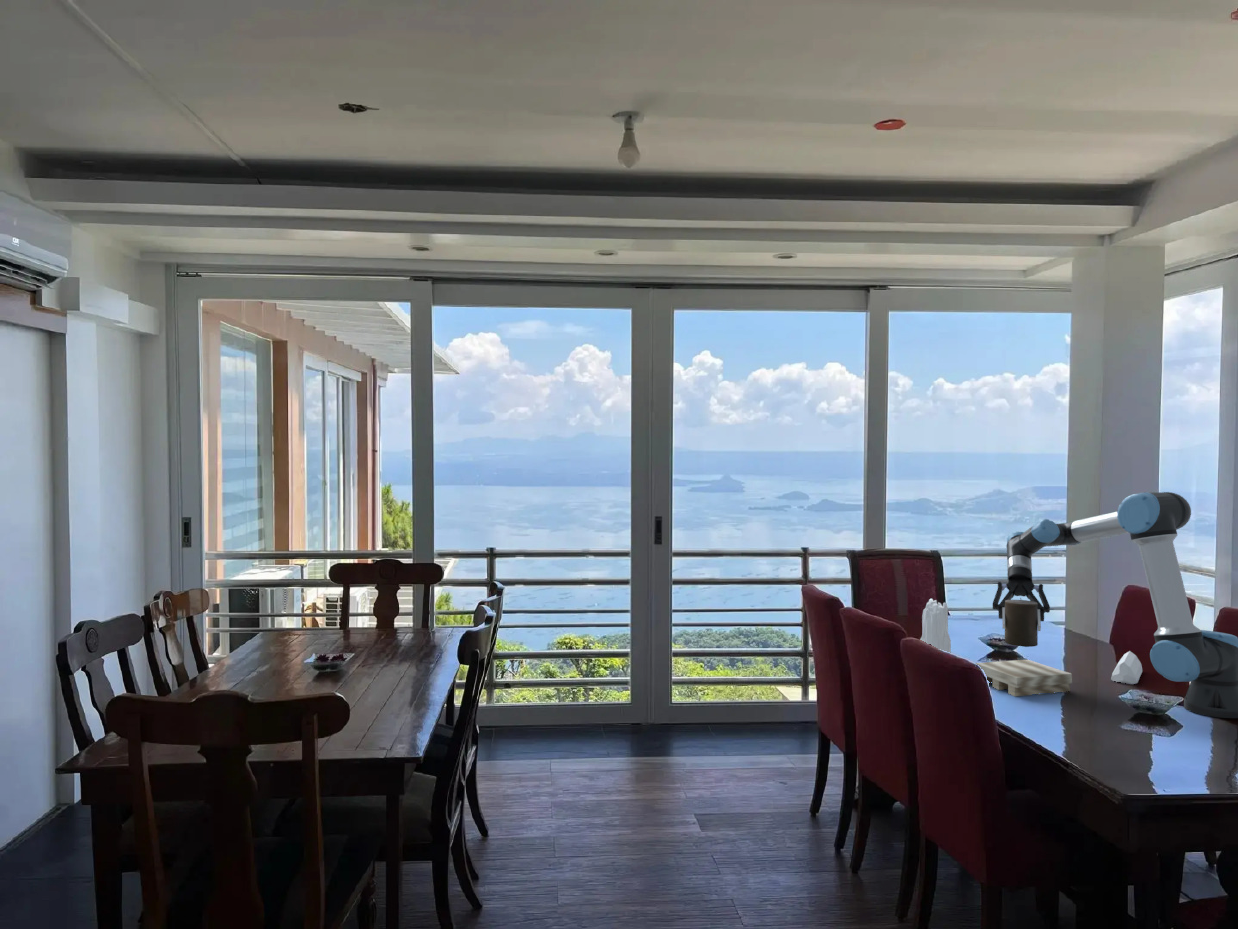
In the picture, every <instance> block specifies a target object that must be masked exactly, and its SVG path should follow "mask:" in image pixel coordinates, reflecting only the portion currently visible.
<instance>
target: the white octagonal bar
mask: <svg viewBox="0 0 1238 929" xmlns="http://www.w3.org/2000/svg"><path fill="white" fill-rule="evenodd" d="M1142 666H1143V665H1142V663H1141V661H1140V659H1139V658H1138V656H1137V655H1136V654H1135V653H1134V652H1132V651H1131V650H1129V651H1127V652H1126V653H1124V654H1123V656H1121V658H1120V659H1119V661H1118V662H1117V664H1116V666H1115V668H1114V670H1113V672H1112V673H1111V678H1110V680H1111V681H1112V682H1114V681H1116V682H1115V683H1117V682H1121V683H1120V684H1125V683H1126V685H1134V684H1135V685H1136V684H1138V683H1139V680H1140V679H1141V678H1140V677H1141V675H1142V673H1143V671H1144V670H1143V667H1142Z"/></svg>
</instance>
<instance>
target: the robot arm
mask: <svg viewBox="0 0 1238 929" xmlns="http://www.w3.org/2000/svg"><path fill="white" fill-rule="evenodd" d="M1191 515H1192V508H1191V505H1190V504H1189V502H1188V500H1187V499H1185V498H1184V497H1183V496H1182V495H1181V494H1178V493H1176V492H1170V491H1163V492H1154V491H1153V492H1152V491H1151V492H1139V493H1134V494H1130V495H1128V496H1126V497H1125V498H1124V499H1122V501H1121V503H1120V504H1119V505H1118V508H1117V511H1114V512H1113V511H1112V512H1109V513H1103V514H1100V515H1095V516H1091V517H1086V518H1081V519H1077V520H1072V521H1069V522H1063V523H1056V522H1054V521H1053V520H1050V519H1047V518H1043V519H1040V520H1039V521H1037V522H1035V523H1034V524H1033V525H1031V527H1029V528H1028V529H1027V530H1025V531H1016V532H1011V533H1010V534H1009V535H1007V538H1006V545H1005V547H1006V558H1007V559H1006V560H1007V561H1006V562H1007V564H1006V566H1007V569H1006V571H1007V574H1006V575H1007V581H1006V583H1002V582H1001V581H998V582H997V590H996V592H995V595H994V598H993V600H992V609H993V610H997V611H998V619H1000V620H1001V621H1002V629H1004V630H1005V601H1006V600H1012V599H1013V598H1014V597H1027V599H1028V601H1033V602H1037V604H1038V605H1037V607H1038V632H1041V629H1042V626H1041V622H1044V621H1045V613H1050V611H1051V606H1050V604H1049V601H1048V599H1047V596H1046V594H1045V591H1044V584H1043V583H1039V585H1037V584H1035V583H1034V582H1033V573H1032V572H1033V569H1032V568H1033V566H1032V565H1033V564H1032V556H1033V555H1034V554H1036V553H1037V552H1038V551H1041V550H1042V549H1043V548H1045V547H1059V546H1075V545H1078V544H1079V545H1080V544H1081V543H1085V542H1091V541H1096V540H1100V539H1106V538H1112V537H1116V536H1117V537H1118V536H1121V535H1127V534H1129V535H1130V540H1131V542H1132V543H1134V544H1135V545H1137V546H1138V548H1139V553H1140V556H1141V561H1142V565H1143V569H1144V573H1145V578H1146V582H1147V586H1148V590H1149V594H1150V598H1151V601H1152V602H1151V603H1152V607H1153V610H1154V614H1155V618H1156V624H1157V630H1156V631H1155V632H1154V633H1153V637H1154V641H1155V643H1154V644H1153V646H1152V648H1151V649H1150V652H1149V658H1150V662H1151V664H1152V666H1153V668H1154V670H1155V671H1156V672H1157V673H1158V674H1159V675H1160V676H1163V678H1164V679H1167V680H1169V681H1172V682H1177V683H1178V682H1182V683H1183V682H1190V684H1189V685H1188V688H1187V691H1186V695H1185V696H1184V698H1183V707H1184V709H1185V710H1187V711H1189V712H1191V711H1192V713H1194V712H1195V714H1199V715H1202V716H1207V717H1211V718H1212V717H1213V718H1222V719H1238V636H1236V635H1233V634H1230V633H1226V632H1220V631H1214V630H1205V629H1200V628H1199V627H1197V626H1196V625H1195V624H1194V621H1193V618H1192V614H1191V609H1190V604H1189V601H1188V597H1187V593H1186V589H1185V585H1184V581H1183V578H1182V574H1181V568H1180V566H1179V565H1180V564H1179V561H1178V557H1177V552H1176V549H1175V544H1174V542H1175V541H1174V540H1175V539H1176V538H1177V537H1178V531H1177V530H1180V529H1182V528H1184V527H1185V526H1186V525H1187V524H1188V523H1189V521H1190V519H1191ZM1005 588H1006V589H1007V590H1008V591H1007V593H1006V594H1005V596H1004V597H1003V599H1002V600H1001V601H1000V599H1001V597H1002V595H1003V594H1002V593H1003V592H1004V590H1005ZM1033 590H1035V591H1036V593H1038V597H1039V599H1040V601H1041V602H1040V601H1039V600H1038V598H1037V597H1036V596H1035V594H1034V592H1033Z"/></svg>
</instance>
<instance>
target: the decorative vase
mask: <svg viewBox="0 0 1238 929" xmlns="http://www.w3.org/2000/svg"><path fill="white" fill-rule="evenodd" d="M948 610H949V609H948V603H947V602H945V601H944V602H943V603H941V602H939V601H938V600H937V599H935V600H934V599H933V598H930V599H928V601H927V602H926V605H925V608H924V609H923V610H922V616H921V619H922V620H921V623H922V624H921V625H922V635H921V637H920V638H919V639H920V640H922V641H924V642H926V643H927V644H931V645H932V646H934V647H936V648H938V649H941V650H944V651H947V652H950V653H951V654H952V651H951V650H952V649H951V648H952V646H951V645H952V643H951V642H952V640H951V637H950V634H949V615H948V614H949V612H948Z"/></svg>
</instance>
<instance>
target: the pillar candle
mask: <svg viewBox="0 0 1238 929" xmlns="http://www.w3.org/2000/svg"><path fill="white" fill-rule="evenodd" d="M1037 605H1038V604H1037V602H1033V601H1030V600H1024V599H1022V597H1020V598H1019V599H1011V600H1006V601H1005V629H1004V642H1005V644H1007V645H1009V646H1016V647H1025V648H1031V647H1037V646H1038V640H1039V639H1038V634H1039V631H1038V607H1037Z"/></svg>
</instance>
